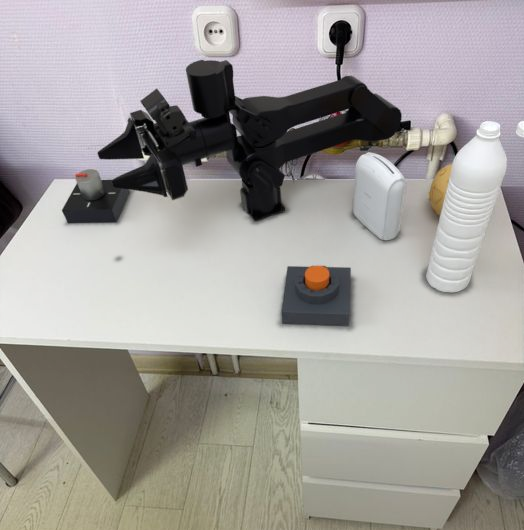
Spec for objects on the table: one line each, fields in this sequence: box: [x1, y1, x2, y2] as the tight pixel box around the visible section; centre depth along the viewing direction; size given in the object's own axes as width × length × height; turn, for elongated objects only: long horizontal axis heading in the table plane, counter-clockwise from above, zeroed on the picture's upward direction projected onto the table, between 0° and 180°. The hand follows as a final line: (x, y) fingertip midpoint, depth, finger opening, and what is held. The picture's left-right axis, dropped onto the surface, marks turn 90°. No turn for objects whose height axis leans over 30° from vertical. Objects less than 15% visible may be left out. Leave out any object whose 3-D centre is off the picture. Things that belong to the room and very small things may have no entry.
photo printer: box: [352, 151, 407, 241], centre depth 83 cm, size 10×4×12 cm, turn 26°
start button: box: [305, 265, 329, 290], centre depth 74 cm, size 4×4×2 cm
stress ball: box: [427, 162, 453, 217], centre depth 84 cm, size 10×10×10 cm
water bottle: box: [425, 120, 524, 294], centre depth 68 cm, size 9×6×25 cm
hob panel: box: [61, 178, 131, 224], centre depth 97 cm, size 10×10×3 cm
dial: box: [74, 168, 105, 201], centre depth 94 cm, size 4×4×4 cm
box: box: [280, 265, 352, 327], centre depth 76 cm, size 10×10×4 cm
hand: (104, 169), depth 76 cm, fingers open, 9 cm apart
